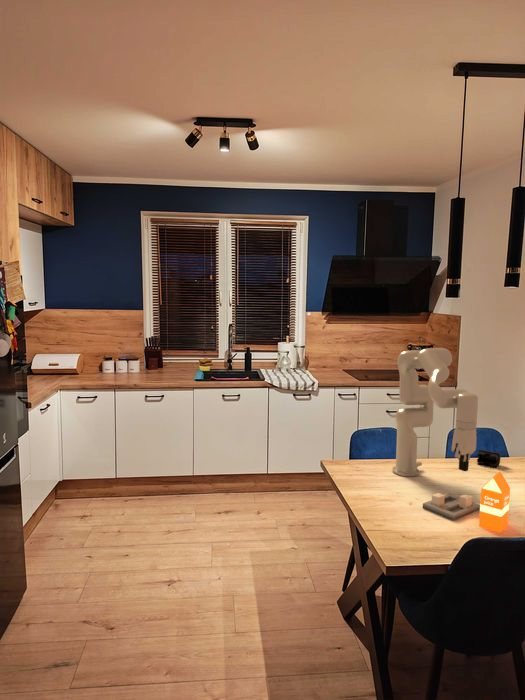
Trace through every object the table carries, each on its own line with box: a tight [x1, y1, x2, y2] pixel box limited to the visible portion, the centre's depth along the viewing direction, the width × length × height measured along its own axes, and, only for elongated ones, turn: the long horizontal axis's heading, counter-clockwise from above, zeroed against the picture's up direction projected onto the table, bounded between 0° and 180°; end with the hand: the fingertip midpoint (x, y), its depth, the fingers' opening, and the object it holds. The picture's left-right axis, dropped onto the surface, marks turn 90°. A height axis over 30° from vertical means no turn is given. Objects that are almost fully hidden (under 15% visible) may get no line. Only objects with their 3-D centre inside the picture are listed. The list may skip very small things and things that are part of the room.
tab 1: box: [431, 492, 445, 506], centre depth 205 cm, size 4×3×4 cm
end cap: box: [476, 449, 502, 469], centre depth 258 cm, size 10×7×7 cm
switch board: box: [422, 493, 480, 522], centre depth 204 cm, size 18×14×2 cm
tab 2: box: [458, 493, 473, 509], centre depth 204 cm, size 4×3×4 cm
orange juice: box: [478, 471, 511, 533], centre depth 189 cm, size 8×9×20 cm
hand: (463, 470), depth 201 cm, fingers closed
